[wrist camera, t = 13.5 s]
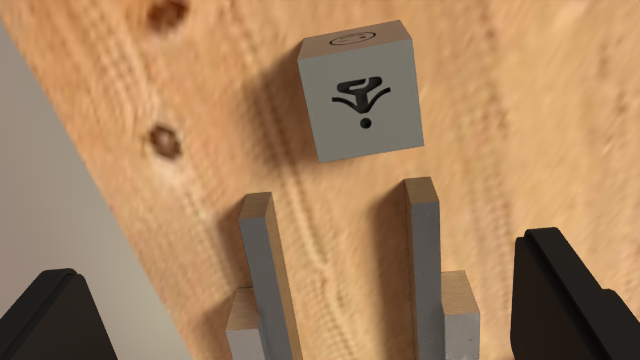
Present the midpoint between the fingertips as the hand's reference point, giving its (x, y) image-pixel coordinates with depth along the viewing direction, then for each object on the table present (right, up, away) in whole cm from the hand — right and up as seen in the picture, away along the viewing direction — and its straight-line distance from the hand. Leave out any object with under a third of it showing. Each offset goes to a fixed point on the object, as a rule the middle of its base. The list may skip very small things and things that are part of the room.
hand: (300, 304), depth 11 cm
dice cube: (+3, +8, +17) cm, 19 cm away
